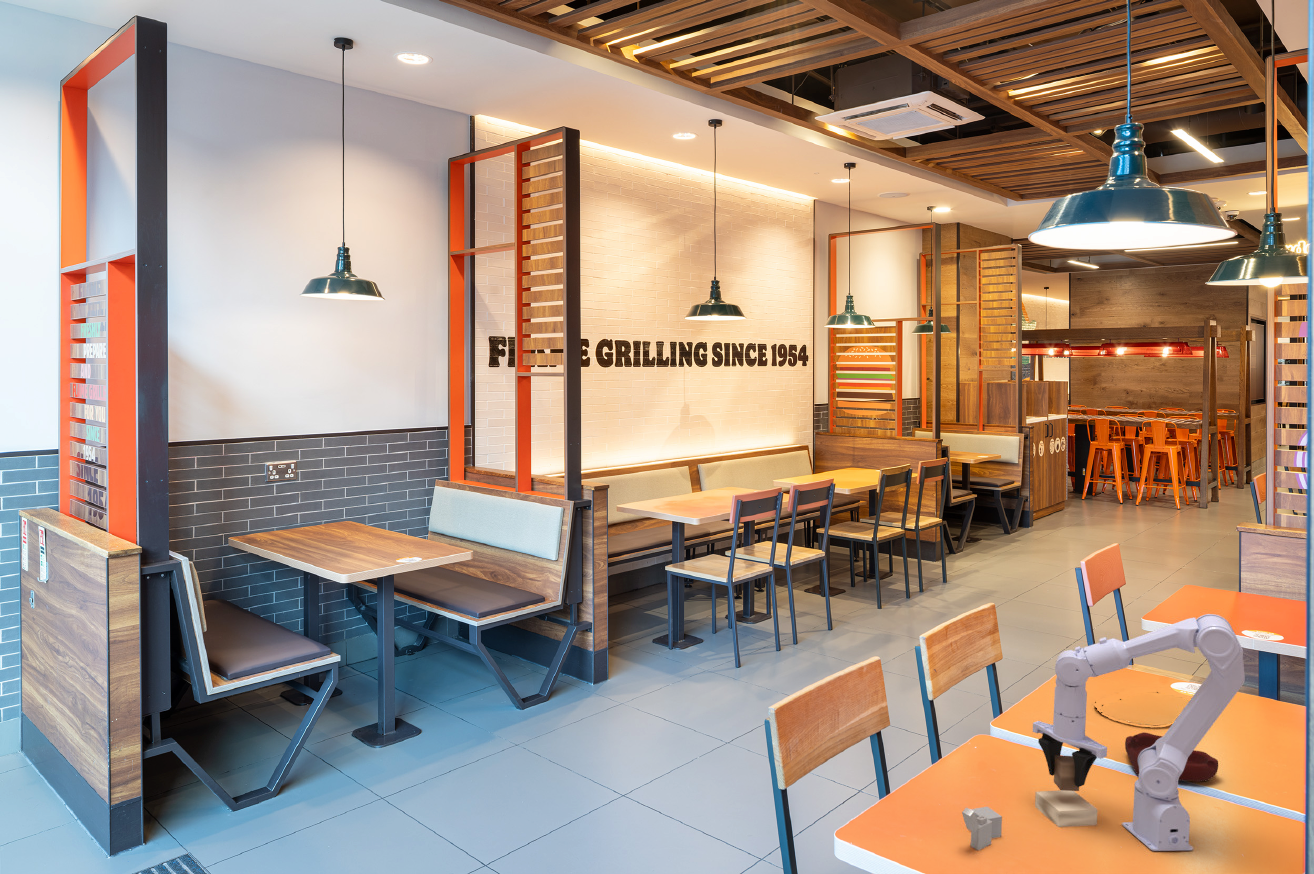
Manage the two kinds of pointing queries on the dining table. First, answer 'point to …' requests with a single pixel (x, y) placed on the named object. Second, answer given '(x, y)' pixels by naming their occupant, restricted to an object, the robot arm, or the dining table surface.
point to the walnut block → (1065, 773)
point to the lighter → (978, 829)
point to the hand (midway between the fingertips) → (1066, 779)
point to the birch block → (1066, 808)
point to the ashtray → (1196, 766)
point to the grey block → (991, 819)
